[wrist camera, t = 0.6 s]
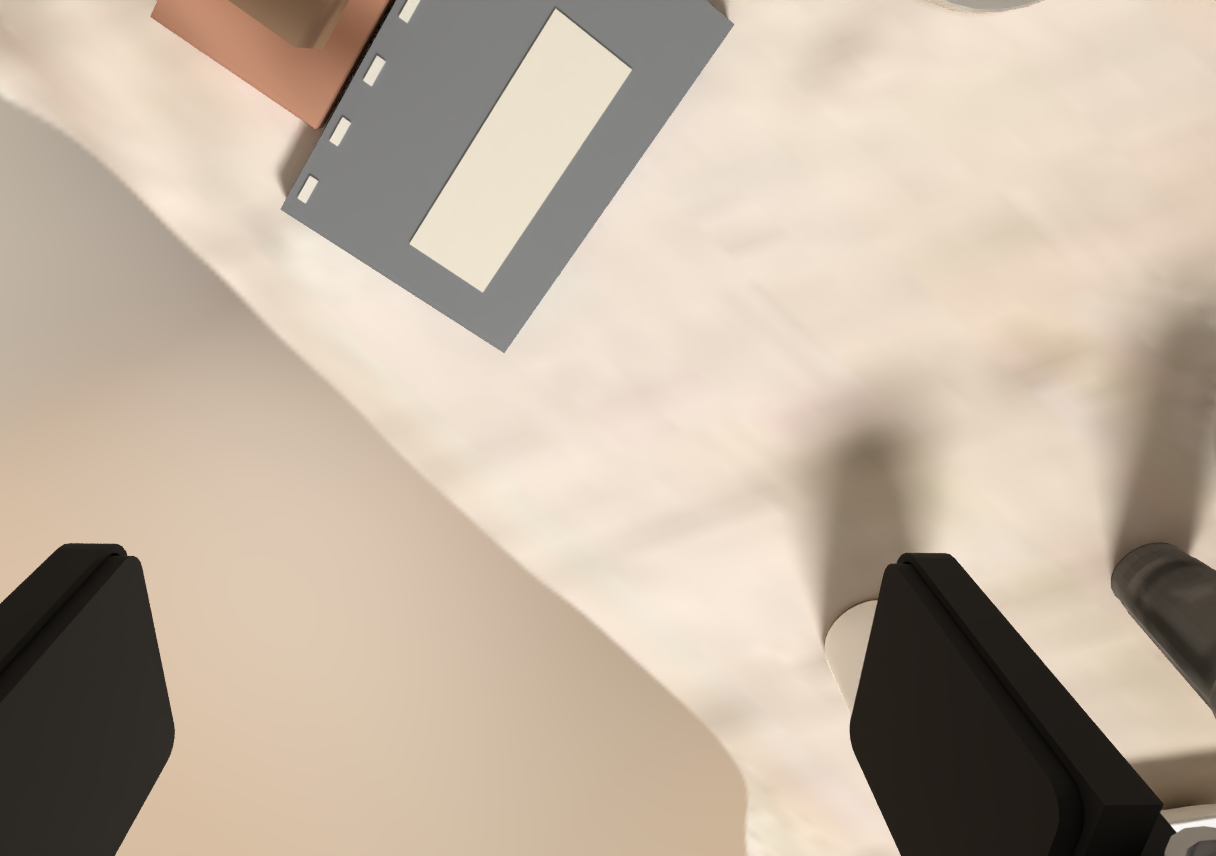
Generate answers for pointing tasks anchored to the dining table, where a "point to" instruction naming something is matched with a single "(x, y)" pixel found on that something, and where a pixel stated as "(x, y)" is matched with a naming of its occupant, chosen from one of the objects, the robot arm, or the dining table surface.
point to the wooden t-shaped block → (281, 44)
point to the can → (849, 648)
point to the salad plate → (1191, 816)
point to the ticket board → (496, 141)
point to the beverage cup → (1174, 609)
